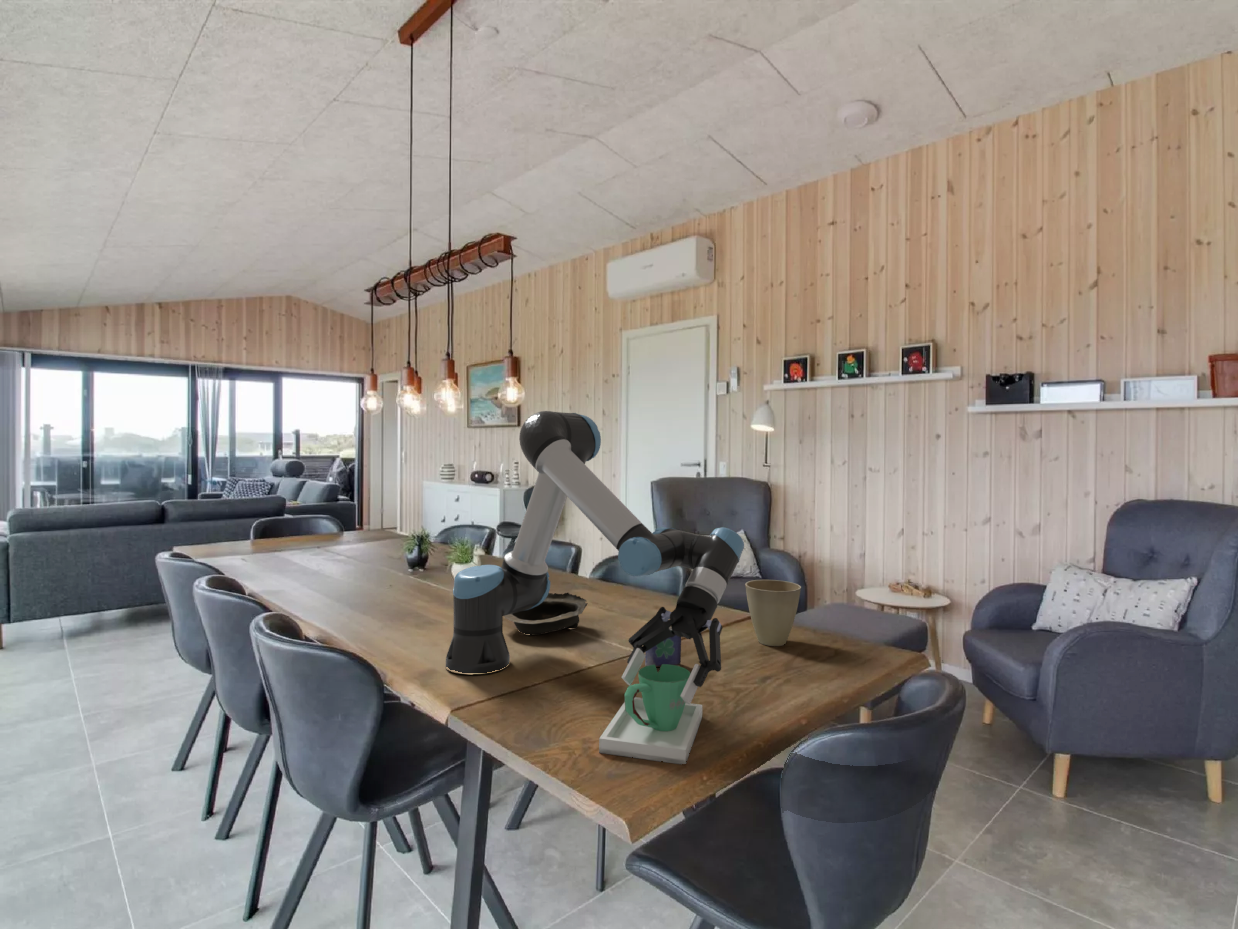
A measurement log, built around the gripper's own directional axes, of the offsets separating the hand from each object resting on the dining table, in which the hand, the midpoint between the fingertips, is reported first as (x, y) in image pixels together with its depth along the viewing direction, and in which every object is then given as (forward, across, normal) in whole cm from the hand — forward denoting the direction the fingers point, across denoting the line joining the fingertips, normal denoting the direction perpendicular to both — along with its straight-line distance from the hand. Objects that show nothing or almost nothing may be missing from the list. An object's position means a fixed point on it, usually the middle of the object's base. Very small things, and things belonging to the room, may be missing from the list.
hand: (654, 690), depth 117 cm
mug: (+5, 0, -6) cm, 8 cm away
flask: (-17, +22, -29) cm, 40 cm away
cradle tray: (+6, 0, -6) cm, 8 cm away
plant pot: (-42, +11, -54) cm, 70 cm away
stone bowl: (-17, +66, -30) cm, 74 cm away
